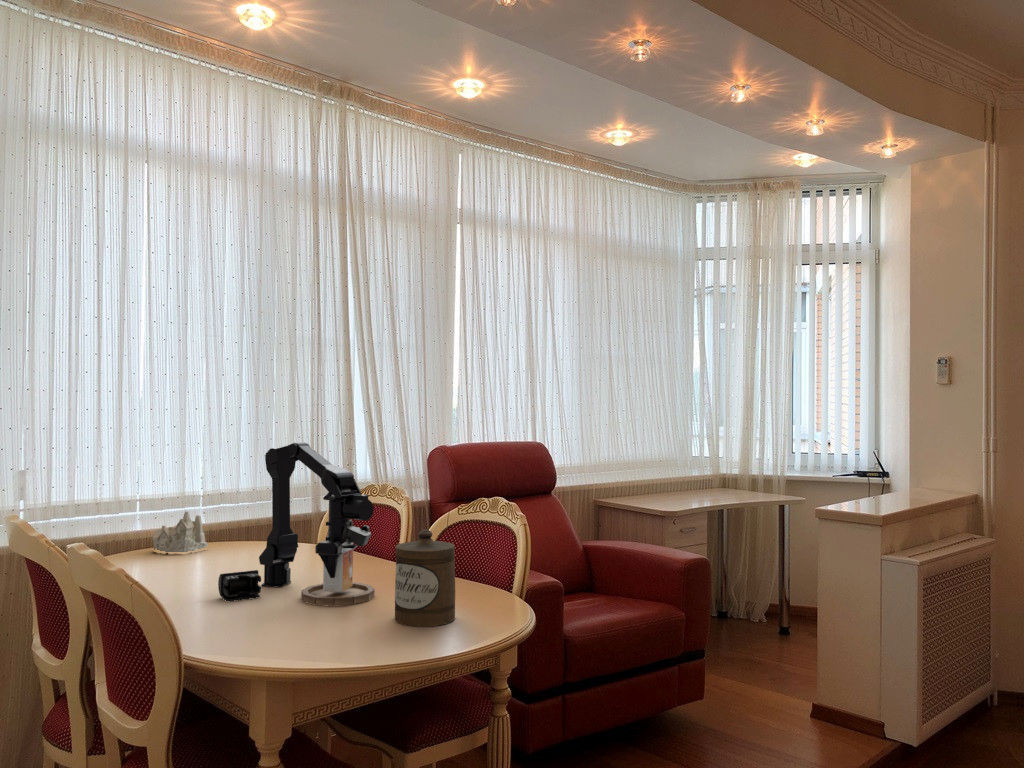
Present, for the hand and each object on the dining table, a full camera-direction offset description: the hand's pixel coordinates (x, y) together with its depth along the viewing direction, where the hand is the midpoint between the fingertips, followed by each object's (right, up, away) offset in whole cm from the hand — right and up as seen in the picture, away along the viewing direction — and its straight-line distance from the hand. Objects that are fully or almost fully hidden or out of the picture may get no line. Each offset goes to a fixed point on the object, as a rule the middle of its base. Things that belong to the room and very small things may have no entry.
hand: (338, 574), depth 222 cm
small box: (0, -4, 0) cm, 4 cm away
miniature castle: (-70, -7, +66) cm, 96 cm away
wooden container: (+26, -6, -22) cm, 34 cm away
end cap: (-26, -6, -1) cm, 27 cm away
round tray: (0, -6, 0) cm, 6 cm away
